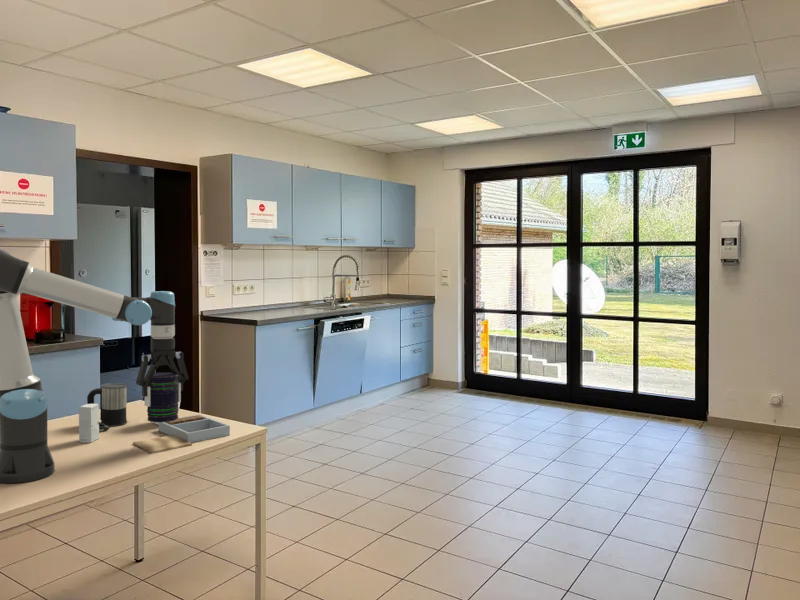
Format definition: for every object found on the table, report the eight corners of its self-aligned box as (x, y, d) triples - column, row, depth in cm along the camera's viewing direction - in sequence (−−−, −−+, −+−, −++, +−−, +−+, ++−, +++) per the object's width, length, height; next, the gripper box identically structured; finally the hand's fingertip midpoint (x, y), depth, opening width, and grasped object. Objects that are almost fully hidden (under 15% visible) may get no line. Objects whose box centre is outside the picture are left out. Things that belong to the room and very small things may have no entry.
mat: (151, 453, 199) (151, 451, 199) (132, 444, 209) (132, 442, 209) (192, 445, 209) (192, 443, 209) (172, 436, 219) (172, 434, 219)
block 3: (193, 429, 230) (193, 418, 229) (189, 427, 232) (189, 416, 232) (203, 427, 232) (203, 417, 232) (199, 425, 235) (199, 415, 235)
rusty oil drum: (140, 419, 207) (140, 375, 206) (164, 413, 215) (164, 371, 214) (161, 423, 202) (161, 378, 201) (185, 417, 211) (185, 374, 210)
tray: (187, 443, 211) (187, 433, 211) (158, 430, 226) (158, 421, 226) (229, 434, 223) (229, 425, 223) (199, 423, 238) (199, 414, 238)
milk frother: (126, 419, 241) (126, 381, 240) (131, 429, 227) (131, 389, 227) (85, 423, 234) (84, 384, 233) (88, 433, 220) (88, 392, 219)
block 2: (183, 431, 226) (183, 420, 226) (177, 429, 229) (177, 418, 229) (193, 429, 230) (193, 418, 229) (186, 427, 232) (187, 416, 232)
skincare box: (91, 443, 209) (91, 407, 208) (78, 442, 209) (78, 407, 208) (99, 437, 215) (99, 403, 214) (86, 437, 215) (86, 403, 214)
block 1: (170, 433, 223) (170, 422, 223) (165, 431, 226) (165, 420, 226) (181, 431, 226) (181, 420, 226) (176, 429, 229) (176, 418, 228)
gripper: (133, 341, 196) (134, 410, 198) (199, 336, 213) (199, 400, 214) (124, 338, 202) (124, 406, 203) (189, 334, 218) (188, 397, 219)
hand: (162, 403), depth 208 cm, fingers closed on rusty oil drum, 10 cm apart
